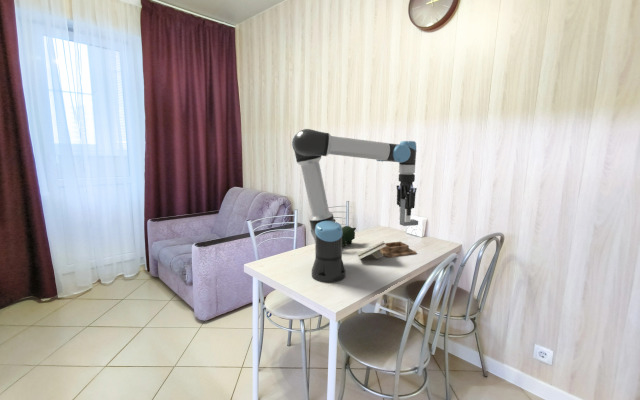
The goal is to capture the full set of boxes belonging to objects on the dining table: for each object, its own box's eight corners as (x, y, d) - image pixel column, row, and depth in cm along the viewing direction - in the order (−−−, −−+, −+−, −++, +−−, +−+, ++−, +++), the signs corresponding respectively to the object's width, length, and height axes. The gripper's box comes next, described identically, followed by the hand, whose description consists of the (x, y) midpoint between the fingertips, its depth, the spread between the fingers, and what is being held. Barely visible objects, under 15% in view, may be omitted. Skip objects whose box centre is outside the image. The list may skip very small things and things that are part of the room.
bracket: (404, 226, 146) (405, 199, 144) (399, 224, 150) (400, 198, 148) (418, 224, 148) (419, 199, 146) (413, 223, 152) (414, 197, 150)
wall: (370, 273, 145) (394, 253, 144) (358, 259, 145) (382, 239, 144) (368, 265, 161) (389, 248, 160) (357, 253, 162) (378, 235, 161)
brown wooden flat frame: (387, 257, 155) (387, 250, 154) (374, 249, 168) (374, 242, 167) (416, 253, 161) (416, 246, 160) (401, 246, 174) (401, 239, 173)
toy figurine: (331, 255, 163) (362, 242, 179) (329, 222, 159) (361, 212, 175) (320, 251, 170) (350, 239, 186) (318, 219, 166) (349, 209, 182)
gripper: (424, 174, 137) (421, 224, 141) (403, 172, 153) (401, 216, 157) (410, 175, 135) (408, 225, 139) (390, 172, 151) (388, 217, 155)
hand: (404, 220), depth 148 cm, fingers closed on bracket, 4 cm apart
